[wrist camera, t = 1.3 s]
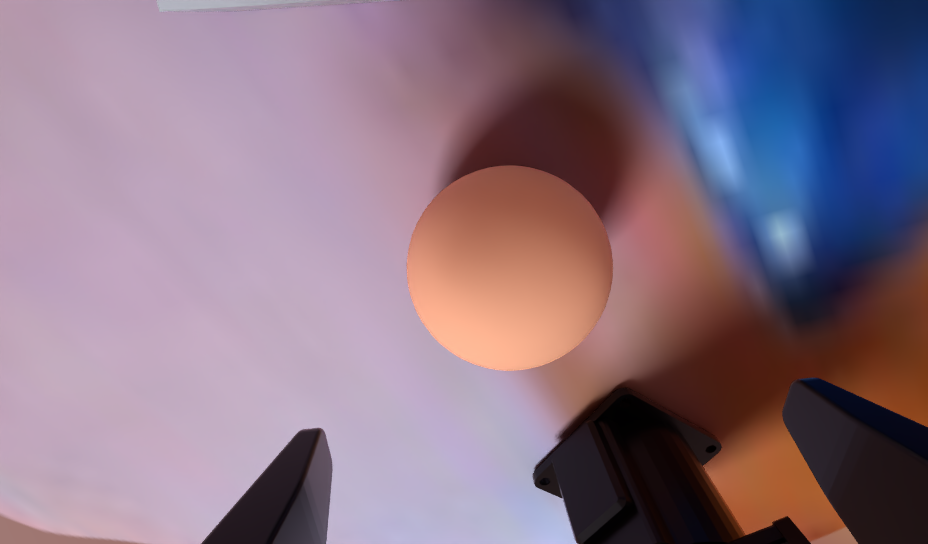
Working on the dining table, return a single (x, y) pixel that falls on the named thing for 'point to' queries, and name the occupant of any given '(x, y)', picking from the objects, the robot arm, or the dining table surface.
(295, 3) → the rail
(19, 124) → the dining table surface
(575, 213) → the ball
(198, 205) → the dining table surface
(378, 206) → the dining table surface
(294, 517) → the robot arm
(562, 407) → the dining table surface
